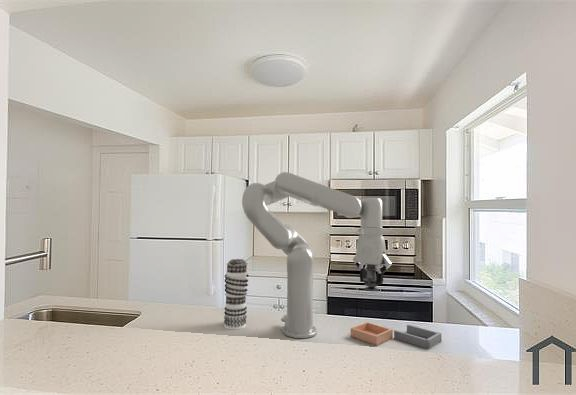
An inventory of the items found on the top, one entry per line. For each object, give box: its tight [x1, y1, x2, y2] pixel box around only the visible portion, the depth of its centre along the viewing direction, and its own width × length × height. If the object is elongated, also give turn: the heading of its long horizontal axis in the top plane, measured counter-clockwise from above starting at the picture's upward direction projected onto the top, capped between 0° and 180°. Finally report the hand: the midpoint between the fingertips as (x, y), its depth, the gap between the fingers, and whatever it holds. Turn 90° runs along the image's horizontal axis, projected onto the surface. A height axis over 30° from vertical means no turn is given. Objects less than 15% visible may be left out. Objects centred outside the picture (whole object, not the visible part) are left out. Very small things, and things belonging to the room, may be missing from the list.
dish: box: [350, 321, 394, 347], centre depth 110 cm, size 10×10×3 cm
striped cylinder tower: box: [223, 258, 249, 331], centre depth 120 cm, size 9×9×25 cm
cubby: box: [393, 324, 442, 350], centre depth 109 cm, size 12×10×2 cm
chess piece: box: [363, 264, 380, 292], centre depth 111 cm, size 6×6×12 cm
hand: (371, 282), depth 111 cm, fingers closed on chess piece, 5 cm apart
